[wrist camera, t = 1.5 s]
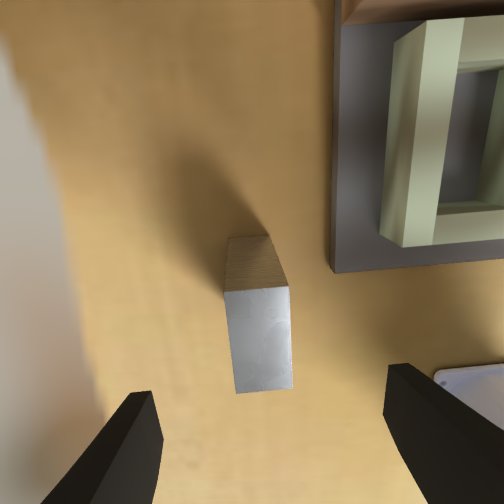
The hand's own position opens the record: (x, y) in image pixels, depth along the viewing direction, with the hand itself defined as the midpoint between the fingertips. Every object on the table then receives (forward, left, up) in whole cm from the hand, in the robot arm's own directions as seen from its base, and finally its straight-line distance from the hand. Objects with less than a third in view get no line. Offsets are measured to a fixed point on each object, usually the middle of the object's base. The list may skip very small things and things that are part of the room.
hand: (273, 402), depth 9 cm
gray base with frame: (+7, -11, -10) cm, 16 cm away
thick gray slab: (0, 0, -10) cm, 10 cm away
